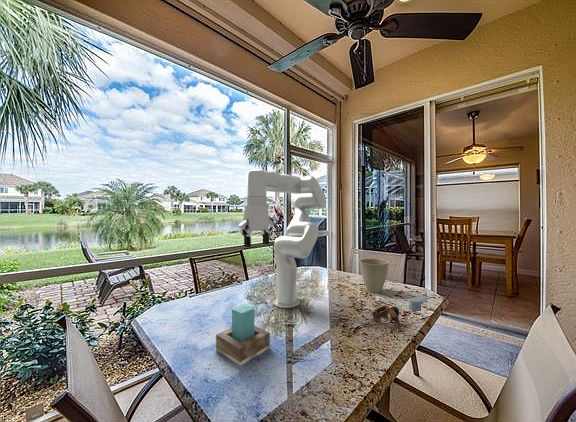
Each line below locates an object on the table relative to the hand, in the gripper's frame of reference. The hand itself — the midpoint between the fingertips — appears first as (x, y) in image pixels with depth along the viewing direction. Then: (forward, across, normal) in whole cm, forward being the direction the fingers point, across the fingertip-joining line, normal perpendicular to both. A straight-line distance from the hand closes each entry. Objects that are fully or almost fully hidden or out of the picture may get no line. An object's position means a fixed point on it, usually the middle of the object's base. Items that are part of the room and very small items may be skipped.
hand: (257, 245), depth 100 cm
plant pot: (+31, -66, +20) cm, 75 cm away
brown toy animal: (+31, -31, +40) cm, 59 cm away
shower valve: (+31, -52, +45) cm, 76 cm away
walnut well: (+30, +16, +11) cm, 36 cm away
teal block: (+29, +16, +11) cm, 35 cm away
